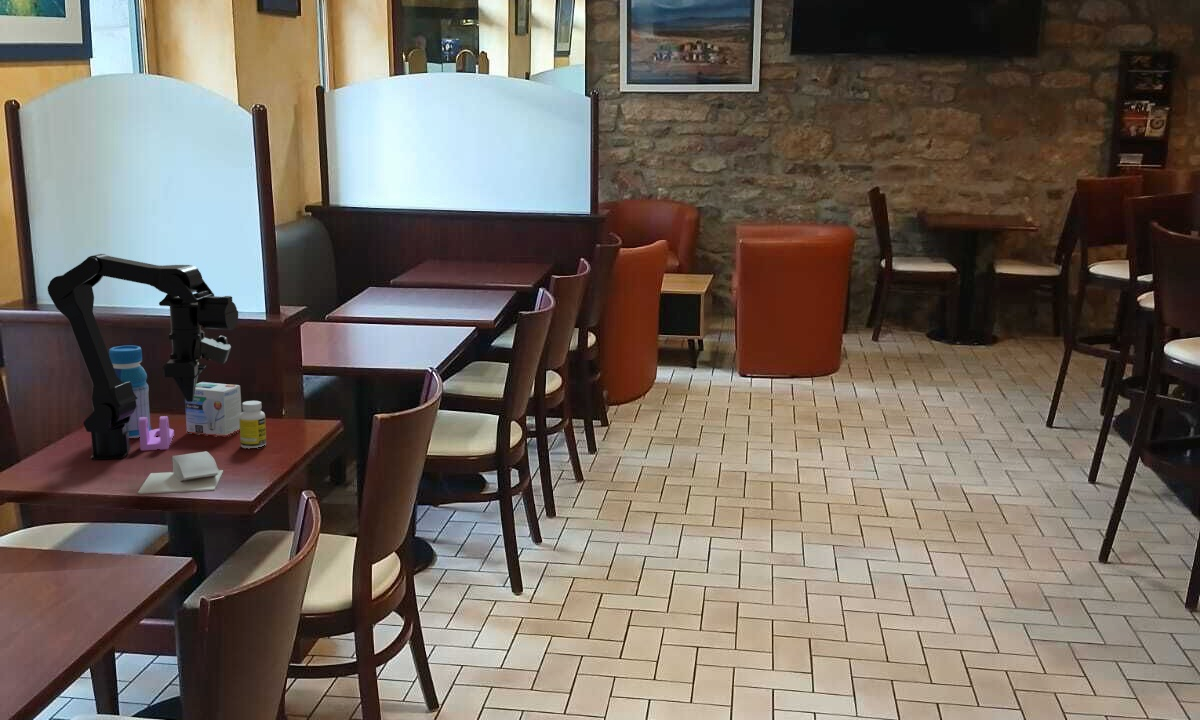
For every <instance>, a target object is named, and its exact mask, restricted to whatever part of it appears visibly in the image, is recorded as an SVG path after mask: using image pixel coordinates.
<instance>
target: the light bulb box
mask: <svg viewBox="0 0 1200 720" xmlns="http://www.w3.org/2000/svg"><path fill="white" fill-rule="evenodd" d="M184 405H185V422H186V423H185V424H186V432H187V431H188V432H196V433H206V434H216V435H228V434H230V433H233V432H234V431H237V430H239V429H240V419H239V416H240V414H241V413H242V412H243V411H242V395H241V385H239V384H231V383H230V384H226V383H215V382H206V381H201V382H198V383H196V388H195V393H194V399H193V401H192V402H187V401H186V399H185V398H184Z"/></svg>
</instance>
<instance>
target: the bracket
mask: <svg viewBox="0 0 1200 720" xmlns="http://www.w3.org/2000/svg"><path fill="white" fill-rule="evenodd" d="M158 423H159V424H158V426H159V427H158V428H155V429H151V430H150V431H149V424H148V418H147V417H140V418H139V435H140V438H139V444H140V451H155V450H157V449H160V450H169V447H170V446H171V444H172V442H173V440H172V438H173V436H174V437H175V430H174V429H173V428H170V421H169V417H168V416H167V415H166V416H165V415H164V416H163V415H162V416H159V422H158ZM157 435H160V436H158V437H156V436H157ZM173 439H174V438H173ZM171 441H172V442H171ZM170 443H171V444H170ZM169 445H170V446H169Z"/></svg>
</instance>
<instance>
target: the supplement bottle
mask: <svg viewBox="0 0 1200 720" xmlns="http://www.w3.org/2000/svg"><path fill="white" fill-rule="evenodd" d="M241 409H242V411H241V412H242V413H241V414H240V416H239V419H240V432H239V437H240V439H239V440H240V446H241V448H243V449H246V448H248V450H250V448H257V449H259V448H258V447H262V446H264V445H265V446H266V445H267V431H266V430H267V428H266V414H265V412H264V411H262V401H259V400H246V401H243V402H241ZM265 446H264V447H265ZM262 448H263V447H262Z"/></svg>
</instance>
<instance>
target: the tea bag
mask: <svg viewBox="0 0 1200 720" xmlns="http://www.w3.org/2000/svg"><path fill="white" fill-rule="evenodd" d="M171 457H172V458H171V459H172V472H173V474H174V475H175V476H176V477H177V479H178V480H179V481H180V482H182V481H188V480H195V479H201V478H208V477H215V476H216V475H218V473H220V472H219V470H220V469H219V468H218V466H217V465H218V464H217V463H216V460H215V458H214V457H213V456H212V455H211V454H210V453H209V452H208V451H206V450H205V451H200V452H199V451H198V452H193V453H185V454H178V455H172V456H171Z"/></svg>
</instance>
